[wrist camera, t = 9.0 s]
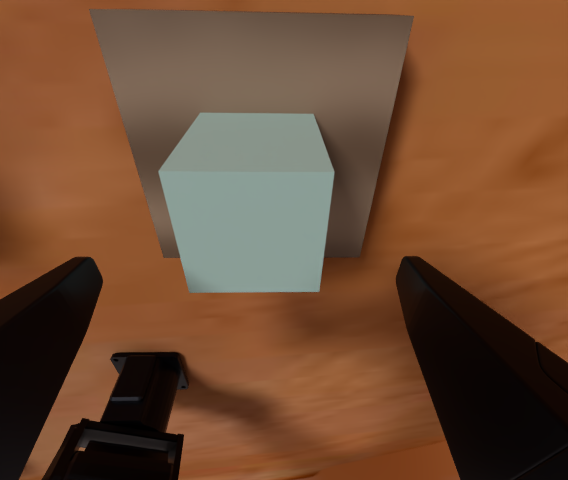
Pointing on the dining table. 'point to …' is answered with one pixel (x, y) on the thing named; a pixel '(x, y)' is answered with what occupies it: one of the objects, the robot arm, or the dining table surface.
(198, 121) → the sage block
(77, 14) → the dining table surface
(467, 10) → the dining table surface
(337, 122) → the grayish brown panel
